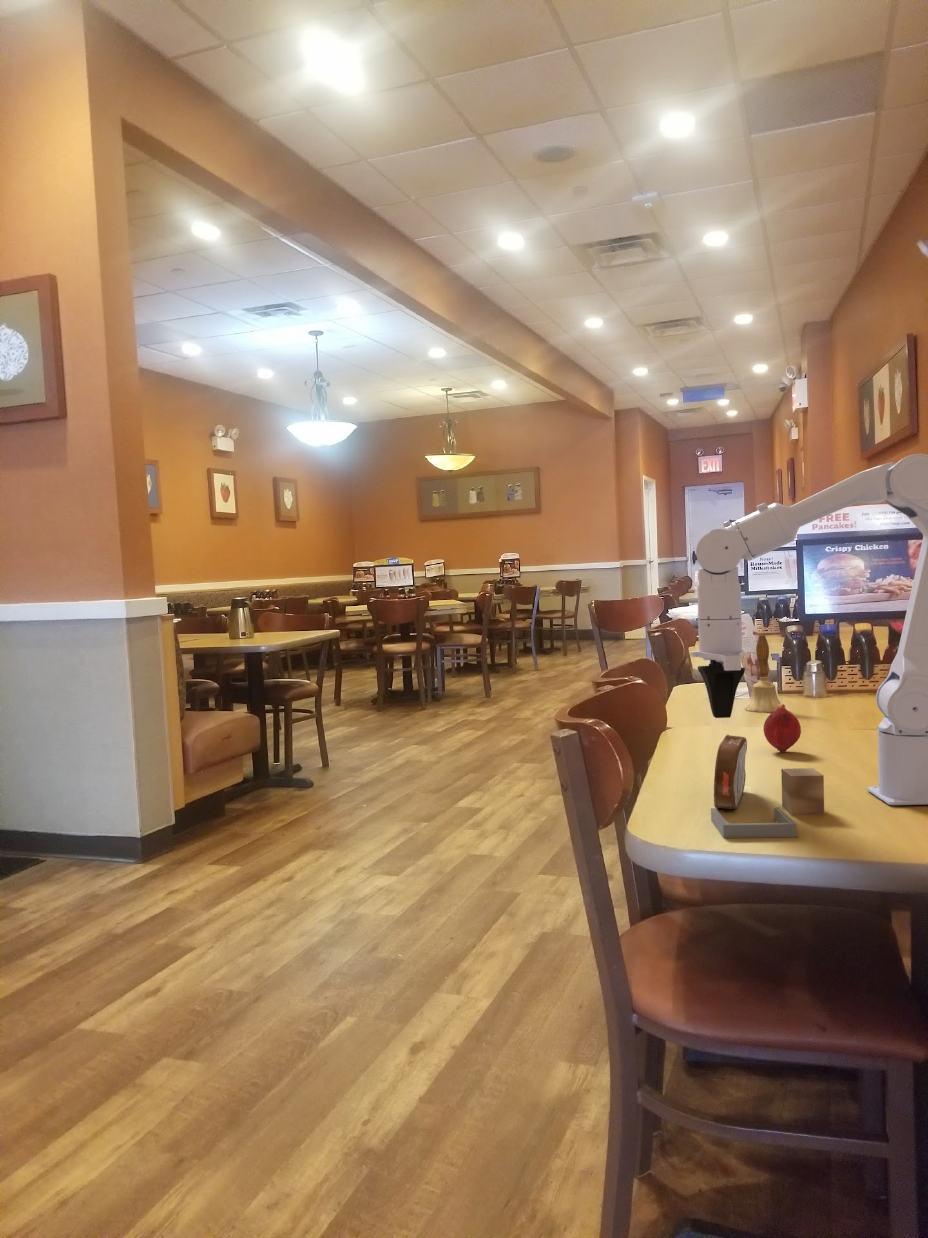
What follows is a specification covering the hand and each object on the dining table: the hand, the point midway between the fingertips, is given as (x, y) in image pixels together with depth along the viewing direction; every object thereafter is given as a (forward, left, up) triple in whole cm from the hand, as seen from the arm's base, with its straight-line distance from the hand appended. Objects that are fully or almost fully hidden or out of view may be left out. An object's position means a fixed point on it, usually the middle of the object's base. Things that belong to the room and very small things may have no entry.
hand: (721, 717), depth 122 cm
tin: (0, +5, -11) cm, 12 cm away
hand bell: (-23, -68, -11) cm, 73 cm away
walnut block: (-8, +10, -10) cm, 16 cm away
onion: (-15, -25, -11) cm, 31 cm away
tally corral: (0, +17, -10) cm, 20 cm away
